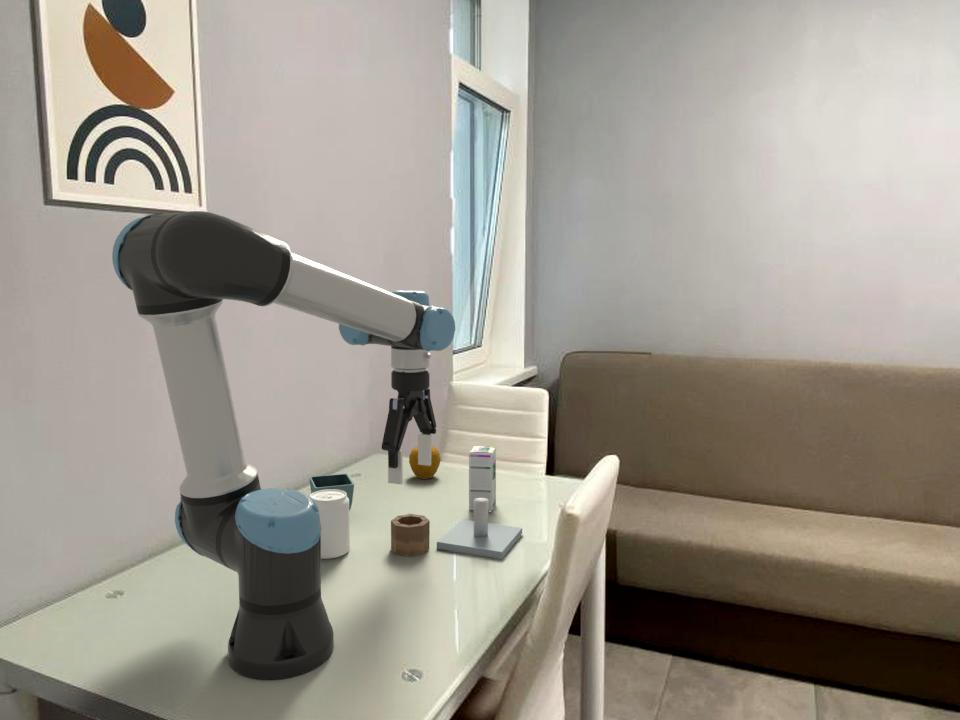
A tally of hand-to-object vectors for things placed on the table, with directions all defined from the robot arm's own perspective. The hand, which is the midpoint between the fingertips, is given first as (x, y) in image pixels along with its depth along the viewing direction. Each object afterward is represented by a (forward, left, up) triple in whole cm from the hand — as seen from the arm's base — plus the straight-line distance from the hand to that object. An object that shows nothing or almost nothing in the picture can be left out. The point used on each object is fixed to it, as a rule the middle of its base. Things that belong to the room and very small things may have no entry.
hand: (410, 473), depth 142 cm
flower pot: (+9, +24, -16) cm, 30 cm away
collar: (0, 0, -16) cm, 16 cm away
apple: (+46, +18, -16) cm, 52 cm away
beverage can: (-8, +14, -16) cm, 23 cm away
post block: (+9, -12, -16) cm, 22 cm away
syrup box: (+29, -5, -16) cm, 33 cm away
